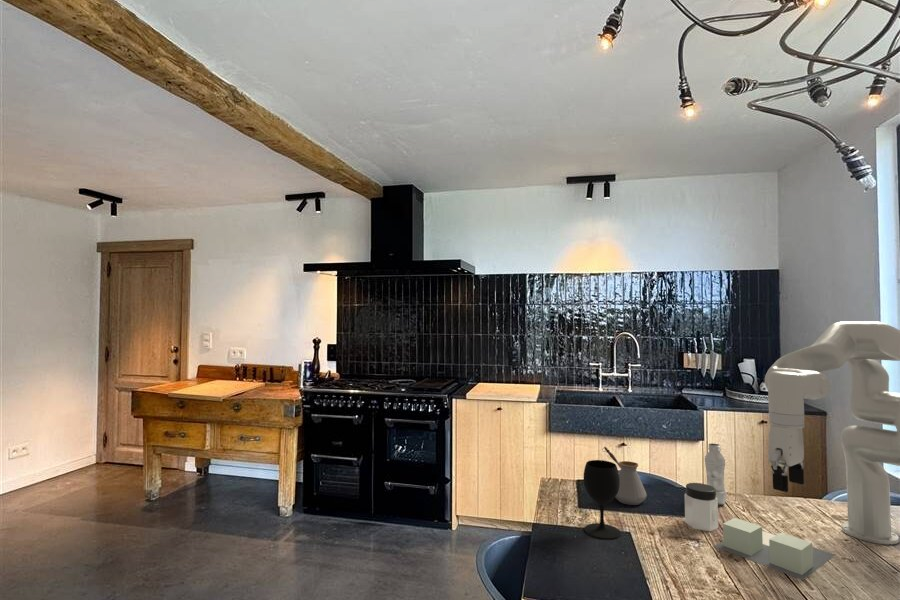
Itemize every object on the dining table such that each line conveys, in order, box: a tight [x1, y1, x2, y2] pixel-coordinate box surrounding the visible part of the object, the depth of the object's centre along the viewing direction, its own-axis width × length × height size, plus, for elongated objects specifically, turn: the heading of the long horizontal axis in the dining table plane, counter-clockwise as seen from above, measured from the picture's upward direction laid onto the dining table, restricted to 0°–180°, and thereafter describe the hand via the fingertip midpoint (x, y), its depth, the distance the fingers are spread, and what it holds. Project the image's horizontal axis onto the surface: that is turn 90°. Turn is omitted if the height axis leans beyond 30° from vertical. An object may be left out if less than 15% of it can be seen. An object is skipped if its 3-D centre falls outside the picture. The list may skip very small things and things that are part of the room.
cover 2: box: [769, 532, 813, 575], centre depth 120 cm, size 7×7×6 cm
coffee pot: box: [601, 446, 648, 506], centre depth 170 cm, size 21×12×15 cm, turn 13°
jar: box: [684, 482, 719, 532], centre depth 144 cm, size 9×8×12 cm
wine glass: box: [583, 459, 621, 540], centre depth 141 cm, size 10×10×20 cm
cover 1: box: [722, 517, 763, 556], centre depth 130 cm, size 7×7×6 cm
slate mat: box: [713, 530, 837, 581], centre depth 128 cm, size 22×21×1 cm
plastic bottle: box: [704, 443, 728, 506], centre depth 163 cm, size 6×7×20 cm
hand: (788, 486), depth 121 cm, fingers open, 9 cm apart
